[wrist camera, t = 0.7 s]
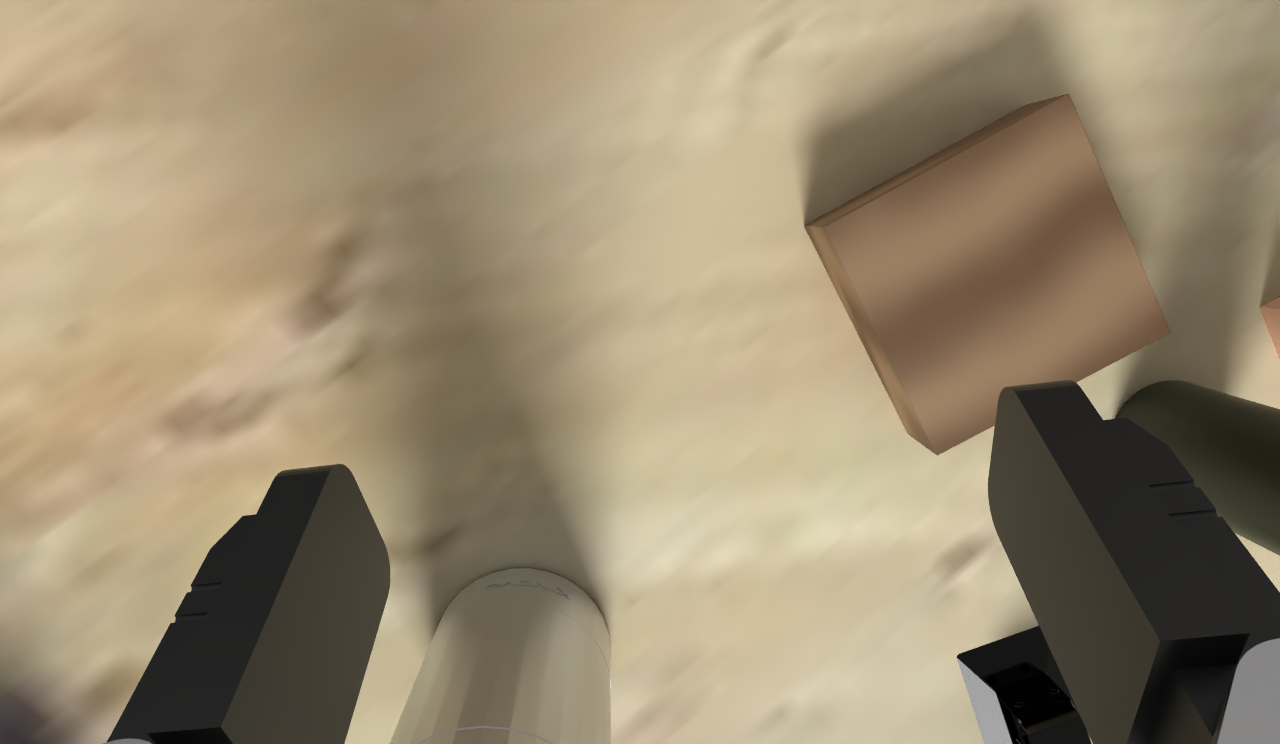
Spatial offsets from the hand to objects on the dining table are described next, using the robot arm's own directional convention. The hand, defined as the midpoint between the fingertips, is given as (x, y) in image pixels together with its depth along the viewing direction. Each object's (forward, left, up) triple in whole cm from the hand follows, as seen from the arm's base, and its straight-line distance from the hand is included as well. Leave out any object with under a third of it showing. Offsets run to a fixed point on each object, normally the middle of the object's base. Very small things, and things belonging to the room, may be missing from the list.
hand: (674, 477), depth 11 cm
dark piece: (-21, -25, -33) cm, 46 cm away
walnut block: (+2, -17, -32) cm, 36 cm away
